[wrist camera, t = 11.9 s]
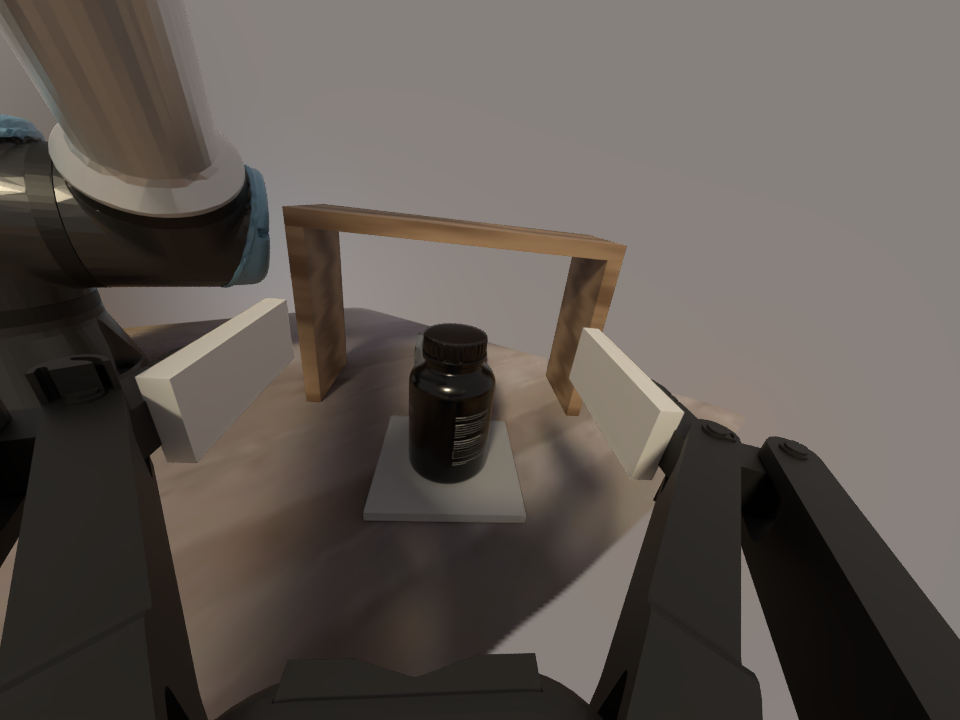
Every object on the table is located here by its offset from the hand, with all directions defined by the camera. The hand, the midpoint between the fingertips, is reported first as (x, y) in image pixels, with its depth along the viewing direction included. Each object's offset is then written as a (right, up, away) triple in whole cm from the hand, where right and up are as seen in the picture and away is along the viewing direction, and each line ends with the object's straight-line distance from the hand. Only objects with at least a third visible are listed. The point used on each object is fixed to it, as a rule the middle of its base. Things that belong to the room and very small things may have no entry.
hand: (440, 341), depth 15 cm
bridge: (-2, -4, +28) cm, 28 cm away
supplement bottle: (-1, -10, +15) cm, 18 cm away
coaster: (-1, -10, +15) cm, 18 cm away
